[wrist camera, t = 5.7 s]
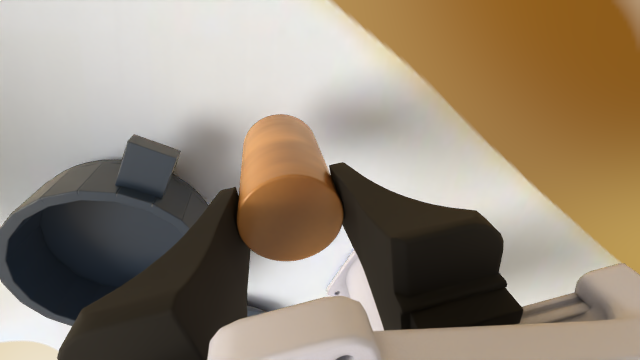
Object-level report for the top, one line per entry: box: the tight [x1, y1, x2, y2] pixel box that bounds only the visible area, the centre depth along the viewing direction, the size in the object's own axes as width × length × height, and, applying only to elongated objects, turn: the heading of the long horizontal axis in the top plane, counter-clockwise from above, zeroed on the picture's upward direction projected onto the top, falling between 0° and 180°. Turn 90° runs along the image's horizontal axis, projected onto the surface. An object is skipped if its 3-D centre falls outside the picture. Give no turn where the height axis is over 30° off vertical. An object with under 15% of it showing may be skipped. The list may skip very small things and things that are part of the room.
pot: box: [0, 134, 208, 326], centre depth 20 cm, size 11×17×4 cm
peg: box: [237, 114, 344, 261], centre depth 14 cm, size 4×4×7 cm
